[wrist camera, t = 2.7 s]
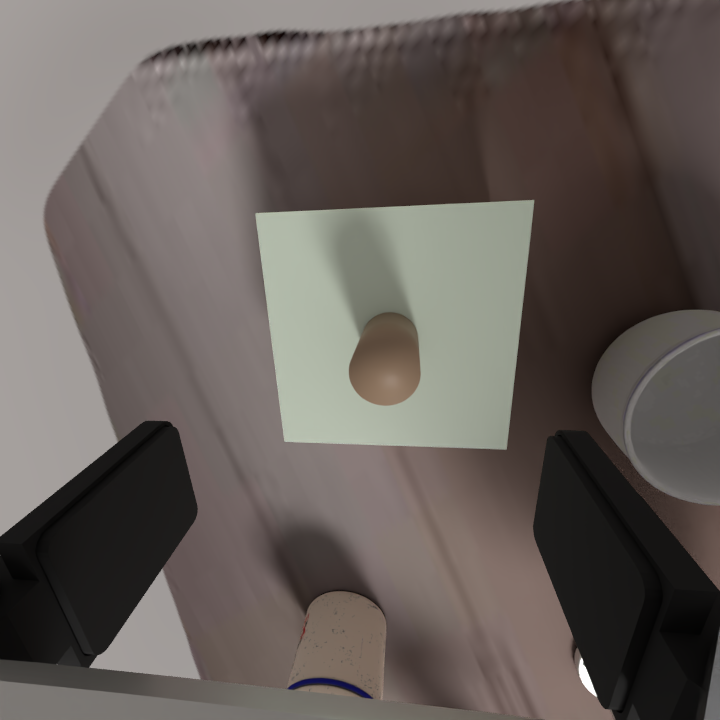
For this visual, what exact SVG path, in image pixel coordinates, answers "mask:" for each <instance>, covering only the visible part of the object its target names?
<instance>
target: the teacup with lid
mask: <svg viewBox="0 0 720 720" xmlns="http://www.w3.org/2000/svg"><path fill="white" fill-rule="evenodd" d="M385 644H386V620H385V617H384V615H383V613H382V611H381V610H380V609H379V607H378V606H377V605H376V604H374V603H373V602H372V601H371V600H369V599H367V598H366V597H364V596H361V595H359V594H356V593H352V592H346V591H334V592H328V593H325V594H323V595H321V596H319V597H317V598H316V599H315V600H314V601H313V602H312V603H311V604H310V606H309V608H308V610H307V614H306V617H305V621H304V625H303V629H302V633H301V637H300V640H299V644H298V648H297V652H296V656H295V659H294V663H293V667H292V671H291V675H290V678H289V682H288V686H287V689H289V690H298V691H307V692H316V693H325V694H334V695H343V696H352V697H360V698H369V699H377V700H382V696H383V679H384V661H385Z"/></svg>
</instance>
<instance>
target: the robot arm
mask: <svg viewBox="0 0 720 720" xmlns="http://www.w3.org/2000/svg"><path fill="white" fill-rule="evenodd" d="M197 510H198V508H197V503H196V499H195V495H194V491H193V487H192V483H191V479H190V475H189V471H188V467H187V463H186V459H185V455H184V451H183V447H182V443H181V439H180V436H179V432H178V430H177V428H175V427H173V425H172V424H171V423H170V422H168V421H145V422H143V423H142V424H140V425H139V426H138V427H137V428H135V429H134V430H133V431H132V432H130V433H129V434H128V435H127V436H125V437H124V438H123V439H122V440H120V441H119V442H118V443H117V444H115V445H114V446H113V447H112V448H110V449H109V450H108V451H107V452H105V453H104V454H103V455H102V456H100V457H99V458H98V459H97V460H95V461H94V462H93V463H92V464H90V465H89V466H88V467H87V468H85V469H84V470H83V471H82V472H80V473H79V474H78V475H77V476H75V477H74V478H73V479H72V480H70V481H69V482H68V483H67V484H65V485H64V486H63V487H62V488H60V489H59V490H58V491H57V492H55V493H54V494H53V495H52V496H50V497H49V498H48V499H47V500H45V501H44V502H43V503H42V504H41V505H40V506H38V507H37V508H36V509H34V510H33V511H32V512H31V513H29V514H28V515H27V516H25V517H24V518H23V519H22V520H20V521H19V522H18V523H17V524H15V525H14V526H13V527H12V528H10V529H9V530H8V531H7V532H5V533H4V534H3V535H2V536H0V720H543V719H535V718H528V717H521V716H513V715H505V714H497V713H488V712H480V711H471V710H463V709H454V708H446V707H437V706H429V705H420V704H412V703H403V702H394V701H386V700H377V699H369V698H360V697H352V696H343V695H334V694H325V693H316V692H307V691H298V690H289V689H280V688H272V687H263V686H254V685H244V684H235V683H226V682H217V681H208V680H199V679H190V678H181V677H172V676H161V675H152V674H143V673H133V672H124V671H114V670H105V669H95V668H89V667H90V665H91V664H92V662H93V661H94V659H95V658H96V657H97V655H99V654H102V653H103V652H104V651H105V650H106V649H107V648H108V647H109V645H110V644H111V643H112V641H113V640H114V638H115V637H116V635H117V634H118V632H119V631H120V629H121V628H122V626H123V625H124V623H125V622H126V620H127V619H128V618H129V616H130V614H131V613H132V612H133V610H134V609H135V607H136V606H137V604H138V603H139V601H140V600H141V598H142V597H143V596H144V594H145V593H146V591H147V590H148V588H149V587H150V585H151V584H152V583H153V581H154V580H155V578H156V576H157V575H158V574H159V572H160V571H161V569H162V568H163V566H164V565H165V564H166V562H167V561H168V559H169V558H170V556H171V555H172V553H173V552H174V550H175V549H176V547H177V546H178V544H179V543H180V542H181V540H182V539H183V537H184V536H185V534H186V533H187V531H188V530H189V528H190V527H191V525H192V524H193V523H194V521H195V519H196V516H197ZM533 530H534V537H535V540H536V543H537V546H538V548H539V551H540V553H541V556H542V558H543V561H544V564H545V566H546V569H547V571H548V574H549V576H550V579H551V581H552V584H553V586H554V589H555V591H556V594H557V597H558V599H559V602H560V604H561V607H562V609H563V612H564V614H565V617H566V619H567V622H568V624H569V627H570V630H571V632H572V635H573V637H574V640H575V642H576V645H577V649H576V652H575V662H574V663H575V666H576V669H577V672H578V675H579V677H580V680H581V682H582V684H583V685H584V686H585V687H586V688H587V690H588V691H590V692H591V693H592V694H593V695H595V696H596V697H597V698H598V700H599V702H600V704H601V705H602V707H604V708H605V709H610V712H611V714H612V717H613V719H614V720H720V591H719V590H718V589H717V587H716V586H715V585H714V584H713V582H712V581H711V580H710V579H709V578H708V576H707V575H706V574H705V573H704V572H703V570H702V569H701V568H700V567H699V566H698V564H697V563H696V562H695V561H694V560H693V558H692V557H691V556H690V555H689V553H688V552H687V551H686V550H685V549H684V547H683V546H682V545H681V544H680V543H679V541H678V540H677V539H676V538H675V537H674V535H673V534H672V533H671V532H670V530H669V529H668V528H667V527H666V526H665V524H664V523H663V522H662V521H661V520H660V518H659V517H658V516H657V515H656V514H655V512H654V511H653V510H652V509H651V508H650V506H649V505H648V504H647V503H646V501H645V500H644V499H643V498H642V497H641V496H640V495H639V494H638V493H637V492H636V491H635V490H634V488H633V487H632V486H631V485H630V483H629V482H628V481H627V480H626V479H625V477H624V476H623V475H622V474H621V473H620V471H619V470H618V469H617V468H616V466H615V465H614V464H613V463H612V462H611V460H610V459H609V458H608V457H607V456H606V454H605V453H604V452H603V451H602V449H601V448H600V447H599V446H598V445H597V443H596V442H595V441H594V440H593V439H592V437H591V436H590V435H589V434H588V433H587V432H586V431H569V430H559V431H557V432H556V434H555V436H550V437H548V439H547V443H546V450H545V456H544V462H543V468H542V474H541V480H540V487H539V493H538V499H537V505H536V511H535V518H534V524H533ZM57 664H58V665H57Z"/></svg>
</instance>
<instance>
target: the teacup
mask: <svg viewBox="0 0 720 720" xmlns="http://www.w3.org/2000/svg"><path fill="white" fill-rule="evenodd" d="M592 401H593V406H594V409H595V412H596V414H597V417H598V419H599V421H600V423H601V424H602V426H603V428H604V429H605V430H606V432H607V433H608V434H609V436H610V437H611V438H612V440H613V441H614V442H615V443H616V444H617V446H618V447H619V448H620V449H621V450H622V452H623V453H624V454H625V455H626V456H627V457H628V458H629V460H630V461H631V463H632V465H633V466H634V468H635V469H636V470H637V472H638V473H639V474H640V475H641V476H642V477H643V478H644V479H645V480H646V481H647V482H649V483H650V484H651V485H652V486H654V487H655V488H657V489H659V490H660V491H662V492H664V493H666V494H668V495H670V496H673V497H676V498H678V499H681V500H685V501H688V502H693V503H698V504H704V505H719V506H720V312H719V311H712V310H681V311H674V312H669V313H665V314H660V315H657V316H654V317H651V318H649V319H646V320H644V321H642V322H640V323H638V324H636V325H634V326H633V327H631V328H630V329H628V330H627V331H625V332H624V333H623V334H621V335H620V336H619V337H618V338H617V339H616V340H615V341H614V342H613V343H612V344H611V345H610V346H609V347H608V348H607V349H606V351H605V352H604V354H603V355H602V357H601V358H600V360H599V362H598V364H597V366H596V369H595V372H594V376H593V380H592Z"/></svg>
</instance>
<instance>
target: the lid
mask: <svg viewBox="0 0 720 720" xmlns="http://www.w3.org/2000/svg"><path fill="white" fill-rule="evenodd" d="M533 208H534V200H523V201H502V202H481V203H460V204H439V205H418V206H396V207H375V208H354V209H333V210H312V211H291V212H270V213H255V215H256V223H257V231H258V238H259V246H260V254H261V262H262V270H263V277H264V285H265V293H266V301H267V309H268V316H269V324H270V332H271V340H272V348H273V356H274V363H275V371H276V379H277V387H278V395H279V402H280V410H281V418H282V426H283V434H284V441H285V442H307V443H335V444H363V445H392V446H420V447H448V448H477V449H505V450H507V441H508V433H509V424H510V415H511V406H512V397H513V388H514V379H515V370H516V361H517V352H518V343H519V334H520V325H521V316H522V307H523V298H524V289H525V280H526V271H527V262H528V253H529V244H530V235H531V226H532V217H533Z"/></svg>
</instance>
